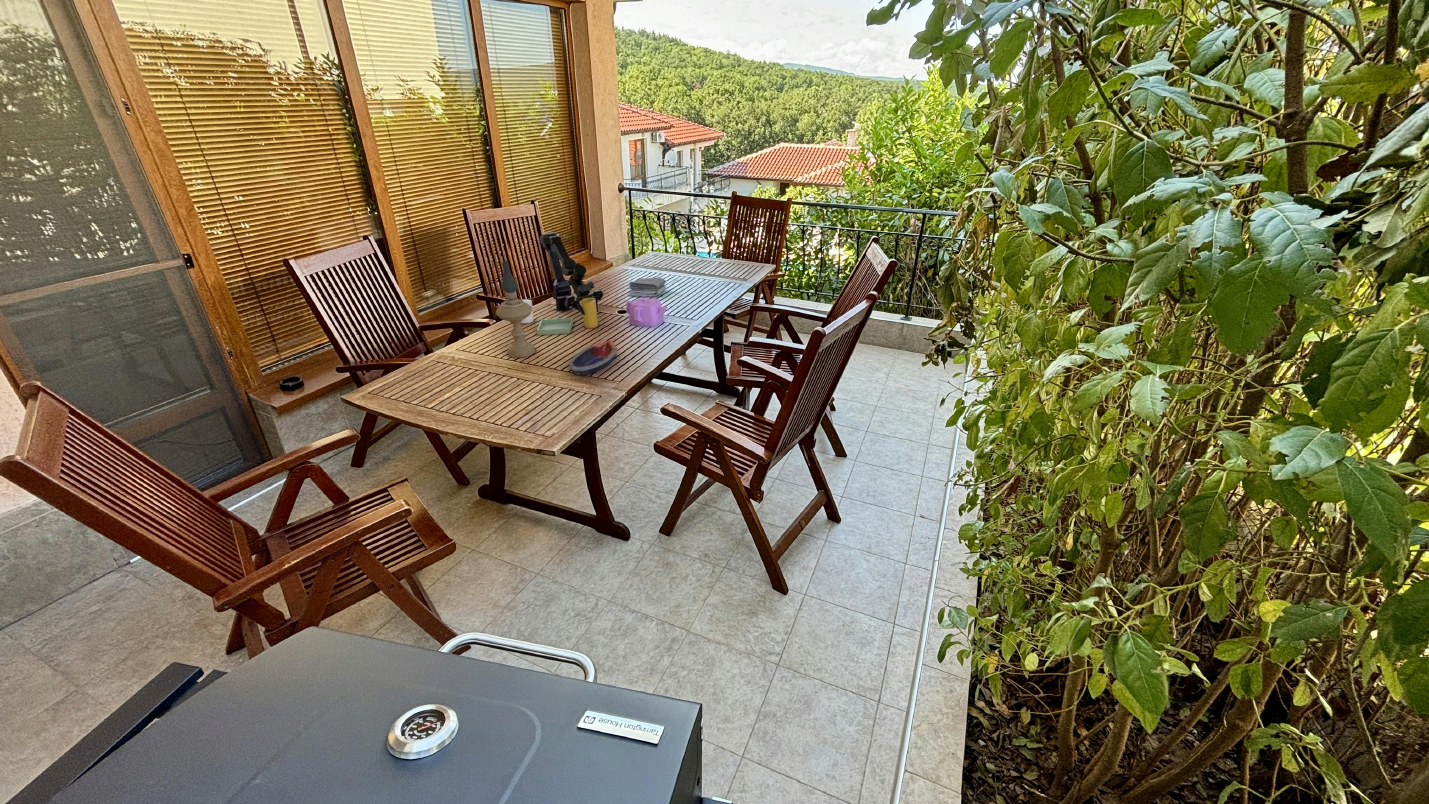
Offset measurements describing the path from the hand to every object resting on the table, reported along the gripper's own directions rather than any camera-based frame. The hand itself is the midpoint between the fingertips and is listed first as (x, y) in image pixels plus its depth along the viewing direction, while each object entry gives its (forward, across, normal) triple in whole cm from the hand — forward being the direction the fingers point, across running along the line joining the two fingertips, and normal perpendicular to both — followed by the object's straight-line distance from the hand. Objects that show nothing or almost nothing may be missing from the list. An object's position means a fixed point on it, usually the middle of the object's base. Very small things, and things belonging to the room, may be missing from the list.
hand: (591, 313), depth 287 cm
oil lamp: (+12, -39, -3) cm, 41 cm away
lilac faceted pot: (+14, +24, -4) cm, 28 cm away
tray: (-2, -15, +11) cm, 19 cm away
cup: (+4, 0, +6) cm, 7 cm away
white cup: (-15, -22, +25) cm, 37 cm away
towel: (-17, +49, +26) cm, 58 cm away
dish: (+35, -19, -25) cm, 47 cm away
